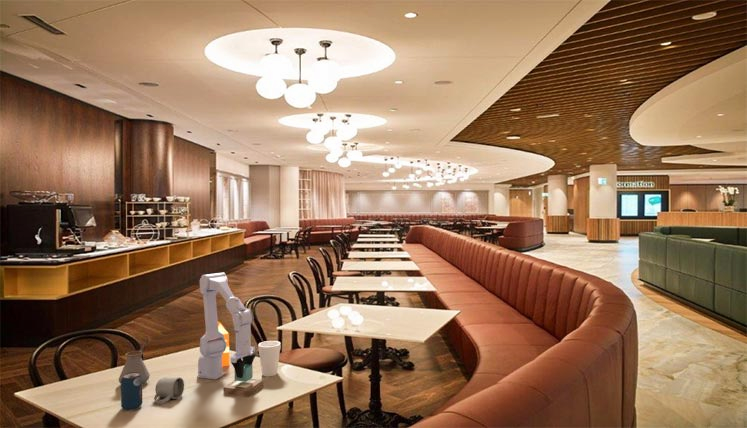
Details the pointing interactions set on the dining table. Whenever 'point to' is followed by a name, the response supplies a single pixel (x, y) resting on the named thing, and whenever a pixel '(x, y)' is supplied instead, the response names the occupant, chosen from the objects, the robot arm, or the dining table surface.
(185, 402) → the dining table surface
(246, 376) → the teal cube
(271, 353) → the foam cup
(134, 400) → the soda can
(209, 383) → the dining table surface
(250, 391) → the walnut base
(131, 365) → the coffee pot
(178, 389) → the ceramic mug
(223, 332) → the orange juice
